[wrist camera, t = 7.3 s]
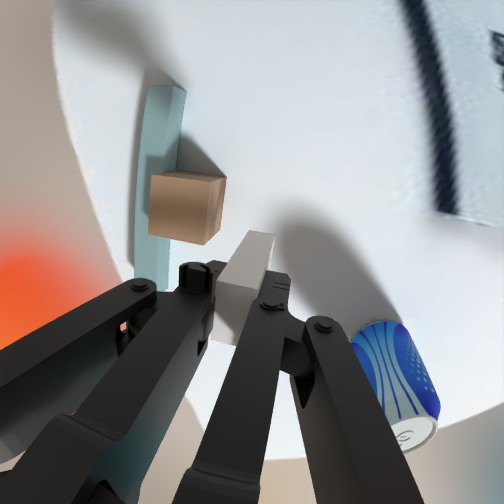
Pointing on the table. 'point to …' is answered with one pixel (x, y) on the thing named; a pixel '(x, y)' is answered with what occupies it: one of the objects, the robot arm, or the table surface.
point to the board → (153, 162)
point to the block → (186, 206)
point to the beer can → (399, 382)
